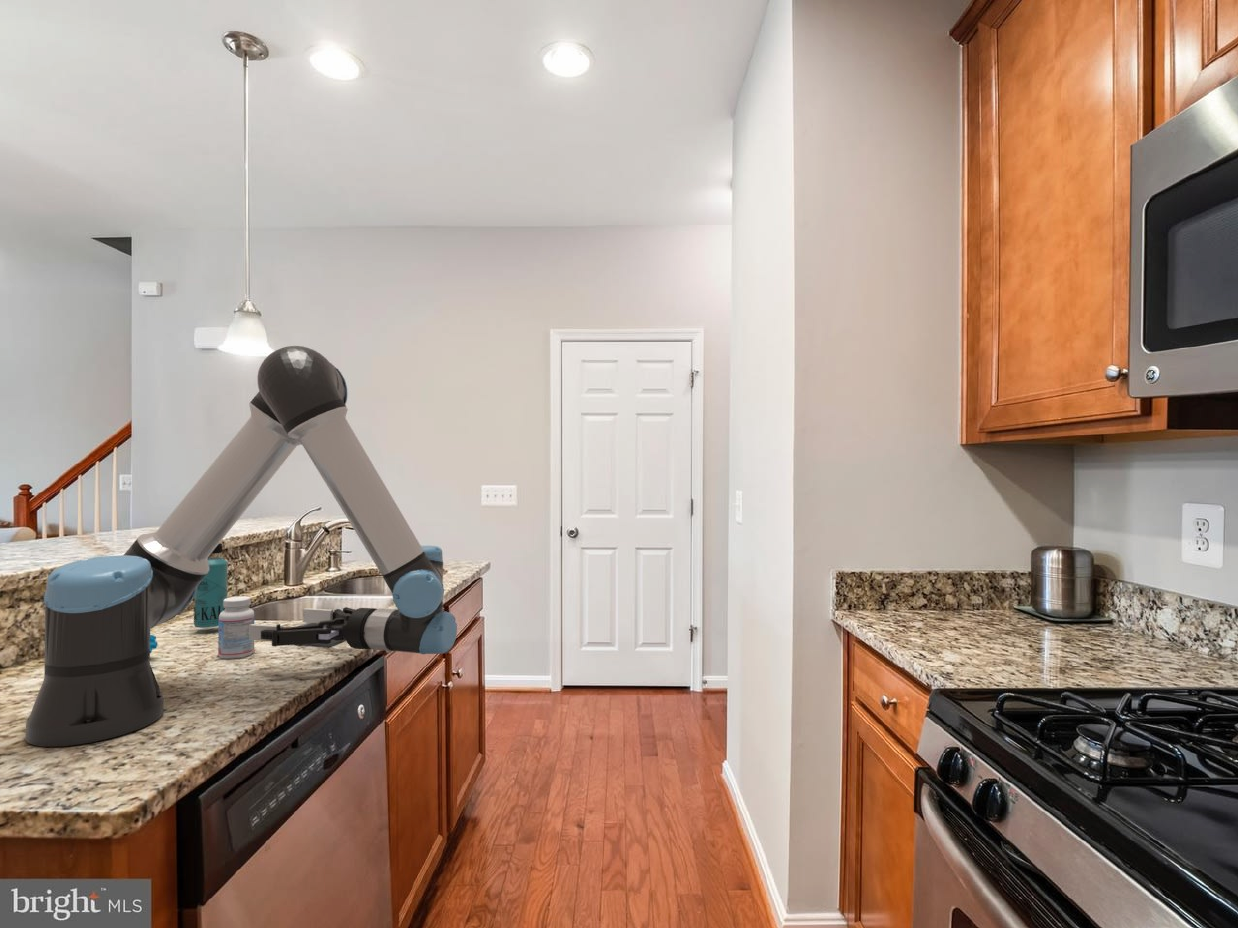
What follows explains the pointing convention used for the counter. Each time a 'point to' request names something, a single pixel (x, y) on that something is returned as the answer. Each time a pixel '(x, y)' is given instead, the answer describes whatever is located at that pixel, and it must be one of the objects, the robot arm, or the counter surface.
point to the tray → (333, 642)
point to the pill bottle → (235, 628)
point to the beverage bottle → (211, 593)
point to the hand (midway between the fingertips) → (278, 623)
